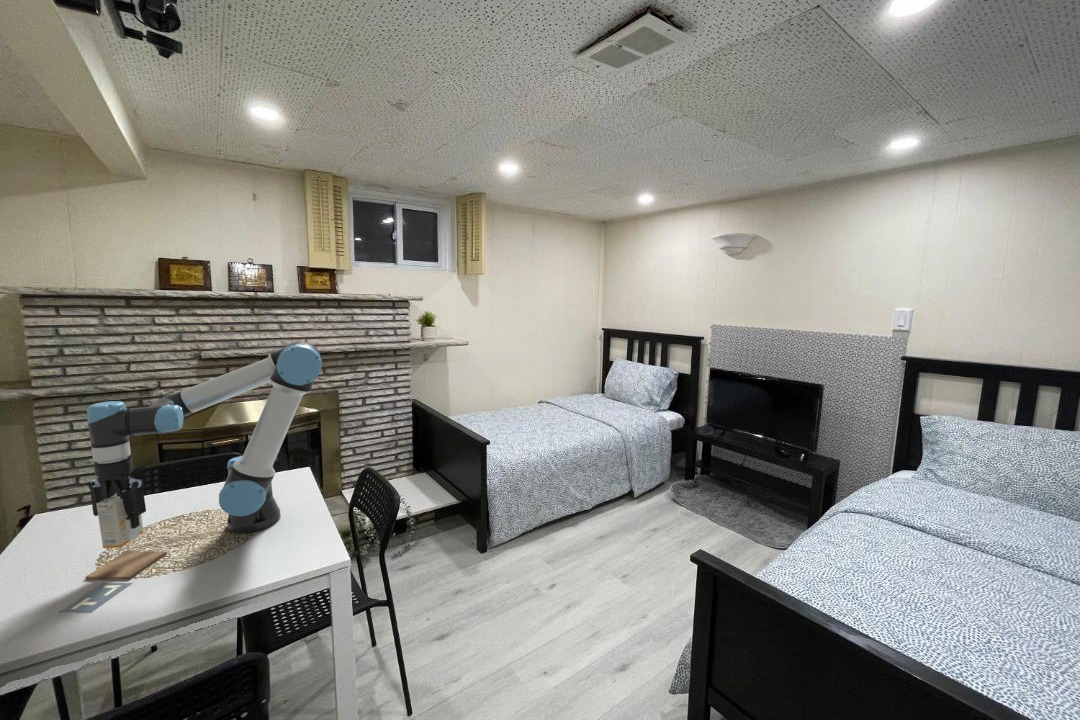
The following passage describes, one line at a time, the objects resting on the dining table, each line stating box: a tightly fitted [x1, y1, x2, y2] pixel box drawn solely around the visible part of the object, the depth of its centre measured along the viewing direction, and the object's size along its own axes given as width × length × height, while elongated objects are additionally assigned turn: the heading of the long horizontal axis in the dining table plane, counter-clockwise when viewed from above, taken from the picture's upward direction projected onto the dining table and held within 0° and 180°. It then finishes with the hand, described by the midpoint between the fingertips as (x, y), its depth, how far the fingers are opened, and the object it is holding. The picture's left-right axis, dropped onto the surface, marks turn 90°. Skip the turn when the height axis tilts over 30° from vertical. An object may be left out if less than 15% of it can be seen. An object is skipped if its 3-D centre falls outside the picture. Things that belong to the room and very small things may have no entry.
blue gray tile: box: [58, 582, 133, 613], centre depth 114 cm, size 8×11×1 cm
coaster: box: [84, 550, 168, 581], centre depth 127 cm, size 12×12×1 cm
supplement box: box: [96, 490, 145, 549], centre depth 125 cm, size 8×5×13 cm, turn 5°
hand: (123, 538), depth 125 cm, fingers closed on supplement box, 5 cm apart
